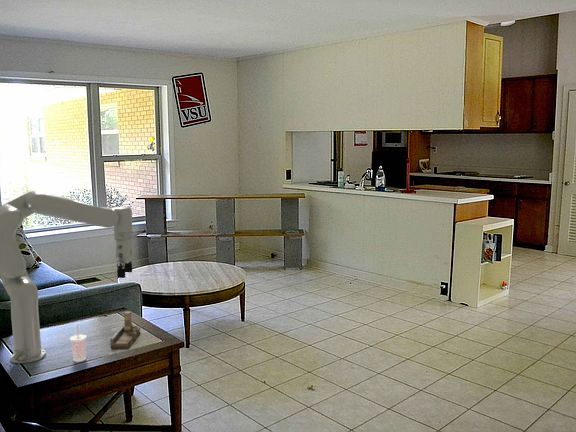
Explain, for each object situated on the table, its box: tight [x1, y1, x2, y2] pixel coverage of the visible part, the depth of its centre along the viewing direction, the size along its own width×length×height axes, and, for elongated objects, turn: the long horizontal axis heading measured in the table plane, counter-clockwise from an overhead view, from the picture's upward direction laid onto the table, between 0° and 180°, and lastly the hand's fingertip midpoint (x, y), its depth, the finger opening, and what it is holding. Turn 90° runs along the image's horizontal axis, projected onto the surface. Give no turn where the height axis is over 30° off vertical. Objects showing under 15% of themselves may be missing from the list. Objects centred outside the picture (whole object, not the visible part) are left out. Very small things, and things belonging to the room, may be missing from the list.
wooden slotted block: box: [109, 323, 141, 349], centre depth 227 cm, size 18×7×4 cm, turn 0°
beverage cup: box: [69, 324, 87, 363], centre depth 206 cm, size 6×6×14 cm
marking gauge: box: [123, 310, 138, 332], centre depth 232 cm, size 4×5×8 cm
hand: (125, 274), depth 229 cm, fingers open, 9 cm apart
